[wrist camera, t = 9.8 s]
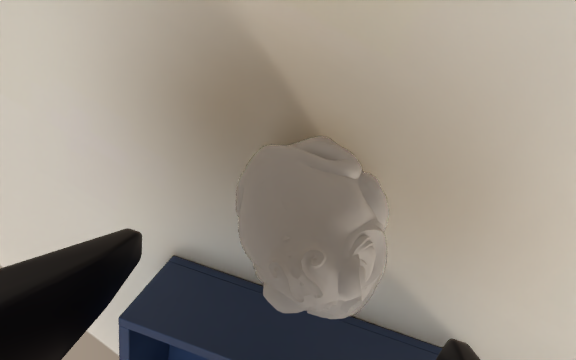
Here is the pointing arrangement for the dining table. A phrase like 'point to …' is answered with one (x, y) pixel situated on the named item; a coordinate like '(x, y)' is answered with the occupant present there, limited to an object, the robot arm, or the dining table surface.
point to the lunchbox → (243, 324)
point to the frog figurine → (313, 227)
